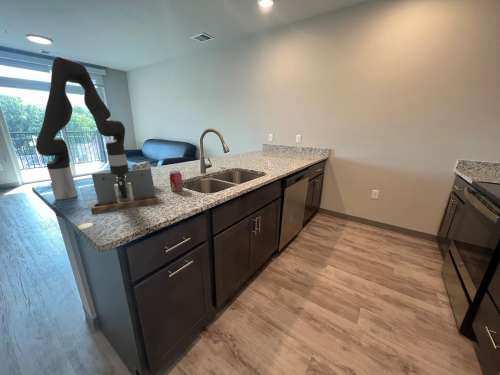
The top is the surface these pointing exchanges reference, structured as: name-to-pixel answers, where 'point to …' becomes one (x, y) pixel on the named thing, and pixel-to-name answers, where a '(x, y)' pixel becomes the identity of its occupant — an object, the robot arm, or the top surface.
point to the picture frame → (128, 191)
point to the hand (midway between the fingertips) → (125, 197)
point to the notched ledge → (123, 204)
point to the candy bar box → (142, 167)
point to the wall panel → (138, 179)
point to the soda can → (176, 181)
